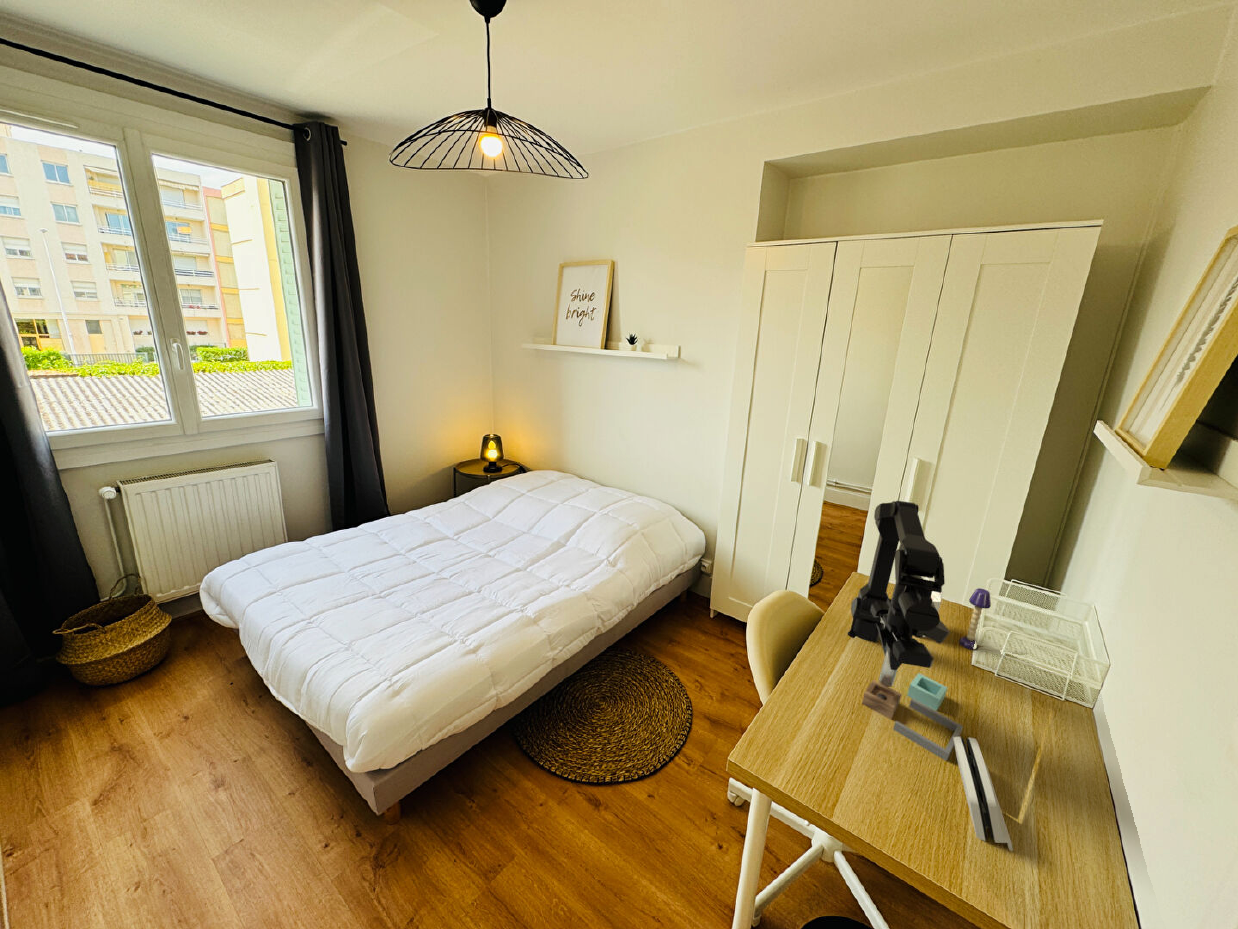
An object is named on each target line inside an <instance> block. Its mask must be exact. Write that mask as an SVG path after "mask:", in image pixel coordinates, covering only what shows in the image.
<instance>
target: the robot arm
mask: <svg viewBox="0 0 1238 929" xmlns="http://www.w3.org/2000/svg"><path fill="white" fill-rule="evenodd" d="M919 511H920V510H919V505H918V504H917V503H914V502H908V501H904V500H903V501H902V500H896V501H894V500H893V501H891V502H887V503H886V502H882V503H879V504H878V505H877V506H876V507H875V509H874V517H873V518H874V522H875V525H876V528H877V531H878V533H879V535H878V539H877V545H876V548H875V552H874V558H873V561H872V564H871V565H872V566H871V570H870V573H869V579H868V582H867V583H866V584H865V585H864V586H863V587H861V588H859V591H858V595H857V596H855V597H854V599H853V600H852V601H851V603H850V604H851V605H850V611H851V617H852V620H851V626H850V630H849V631H848V632H847V636H849V637H851V638H854V639H855V637H857V638H859V639H860V640H864V641H869V642H873V643H878V641H879V640H880V643H881V645H882V646H881V647H882V650H883V655H884V656H885V655H886V652H887V651H888V658H889V664H890V668H891V670H897V671H898V669H899V668H900V666H901V665H903V664H904V665H908V666H909V665H910V666H916V667H922V668H927V669H930V668H931V667H933V666H932V665H933V663H934V659H935V658H934V657H933V655H932V654H931V652H930V650H929V649H928V647H927V646H926V645H925V644H924V643H922V642H919V641H918V640H917V639H915V638H918V639H923V638H924V637H923V635H924V636H926V637H925V638H928V639H930V640H932V641H935V643H936V644H938V645H941V644H942V643H943V642H944V641H945V639H946V638H948V636H949V634H950V633H951V632H950V630H949V629H948V627H946V625H945V623H943V621H941V618H940V613H939V612H938V611H937V609H936V607H935V605H934V603H933V601H932V598H931V594H932V591H934V592H939V593H941V592H943V590H942V588H943V586H944V585H946V584H945V582H946V581H945V564H944V562H943V557H941V555H940V554H939V551H938V549H937V546H935V544H934V543H932V542H930V541H929V540H927V539H926V536H925V533H924V529H923V527H922V523H921V520H920V519H921V518H920V517H919ZM893 566H894V573H895V574H894V575H895V577H894V578H895V584H894V588H893V591H892V596H891V598H890V597H889V595H888V594H889V593H888V592H887V591H888V586H889V583H890V578H891V575H892V570H893ZM925 577H927V578H928V579H929V580H925ZM930 579H933V580H930ZM913 637H915V638H913ZM886 647H887V650H886Z"/></svg>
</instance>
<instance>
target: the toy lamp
mask: <svg viewBox="0 0 1238 929" xmlns="http://www.w3.org/2000/svg"><path fill="white" fill-rule="evenodd" d="M968 602H969V603H970V604H971V605H973V606H974V609H973V610H972V614H971V619H970V624H969V626H968V630H967V634H966V635H967V636H963V637H961V638H960V639H959V641H958V643H959V644H960V645H961V646H962V647H964V648H966V649H968V650H973V647H974V644H975V641H976V640H975V639H976V637H975V636H976V634H977V629H978V625H979V624H980V623H979V620H980V619H981V615H982V610H983V609H984V610H985V609H990V608H991V605H992V603H991V602H992V601H991V593H990V591H989V590H987V589H984V588H976V589H975V590H974V592H973V593H972V595H971V596H970V598H969V600H968Z"/></svg>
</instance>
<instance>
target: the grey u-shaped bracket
mask: <svg viewBox="0 0 1238 929" xmlns="http://www.w3.org/2000/svg"><path fill="white" fill-rule="evenodd" d="M908 707H909V708H911V709H912V710H913V711H916V712H918V713H920V714H921V715H923V716H925V717H926V718H929V719H930V720H932V721H933V722H936V723H937V724H940V725H941V726H943V727H945V728H947V729H949V730H950V731H952V732H953V734H952V736H951V738H950V739H949V742H948V743H947V745H946V747H945V748H944V747H942V746H941V745H939V744H938V743H936V742H934V741H933V740H930V739H928V738H927V737H926V736H923V735H922V734H920V733H918V732H917V731H915V730H913V729H912V728H910V727H908V726H906V725H905V724H903V723H902V722H900V721H898V720H895V722H894V725H893V727H892V728H893V729H892V730H894V731H895V732H897V733H898V734H900V735H902V736H903V737H905V738H906V739H909V740H910V741H912V742H913V743H915V744H917V745H919V746H920V747H922V748H923V749H925V750H927V751H928V752H931V754H934V755H935V756H936V757H938V758H940V759H942V760H944V761H945V762H947V761H948V759H949V757H950V755H951V754H952V751H953V750H954V748H955V745H954V739H953V737H961V734H962V731H963V728H964V725H963V724H960V723H959V722H957V721H955V720H953V719H951V718H949V717H948V716H945V715H943V714H942V713H940V712H938V711H935V710H933V709H931V708H929V707H928V706H926V705H924V704H922V703H920V702H918V701H916V700H915V699H913V698H911V699H910V702H909V705H908Z"/></svg>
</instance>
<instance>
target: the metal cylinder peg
mask: <svg viewBox="0 0 1238 929" xmlns="http://www.w3.org/2000/svg"><path fill="white" fill-rule="evenodd" d="M886 650H887V647H886ZM897 672H898V669H897V670H891V668H890V664H889V658H888V651H887V652H886V655H884V659H883V663H882V667H881V669H880V673H879V674H880V675H879V678H878V682H879V683H881V684H882V685H884V686H887V687H889V688H892V687H893V686H894V683H895V680H896V676H897Z"/></svg>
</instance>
